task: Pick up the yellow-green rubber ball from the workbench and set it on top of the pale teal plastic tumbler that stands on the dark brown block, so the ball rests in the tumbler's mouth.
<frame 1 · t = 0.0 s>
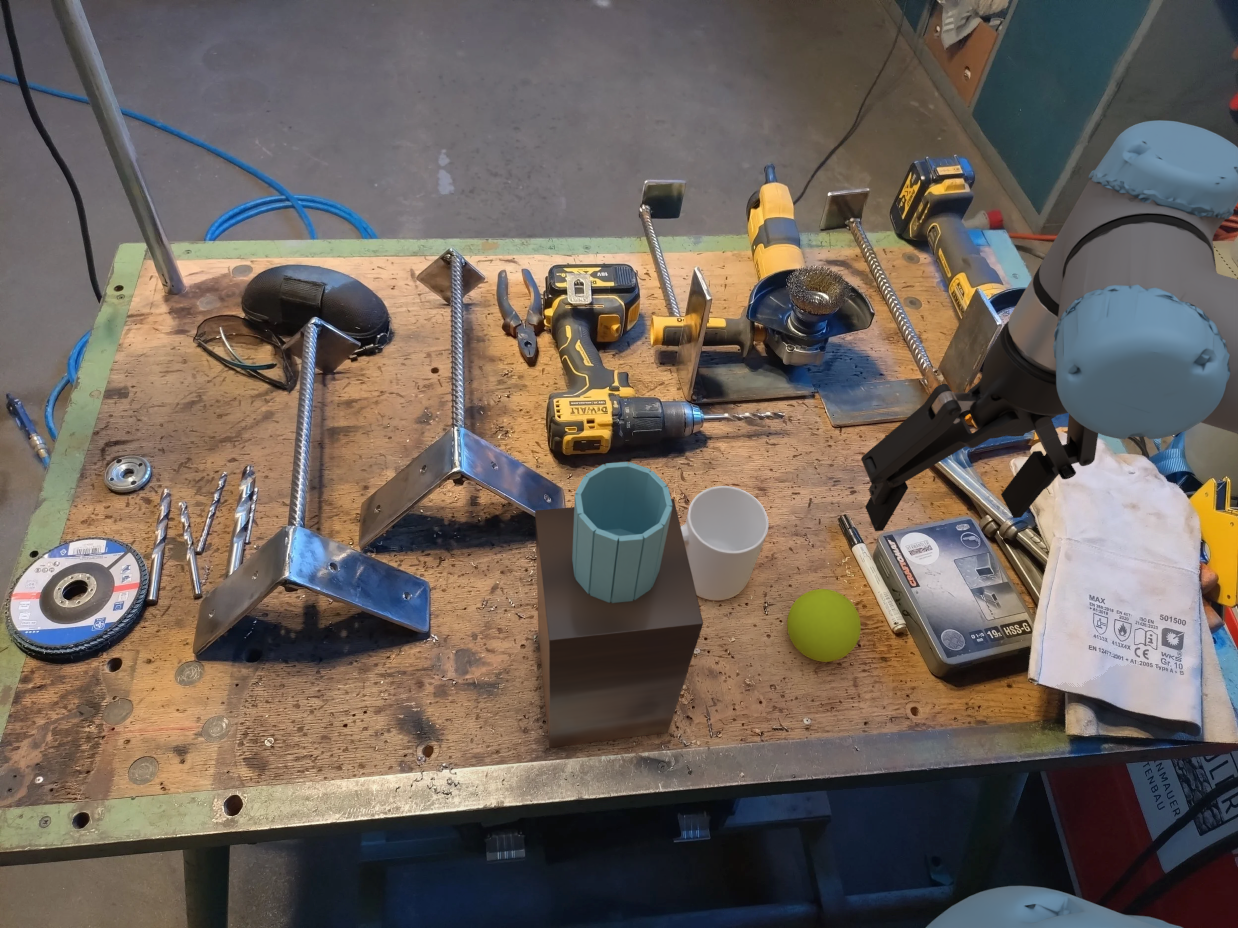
hand: (943, 512, 74), 21 cm above the workbench, tool pointing down, fingers open, 13 cm apart
ball: (814, 640, 88), on the workbench
tumbler: (615, 564, 65), resting on dark brown block
mug: (698, 572, 93), on the workbench
dark brown block: (601, 683, 84), on the workbench
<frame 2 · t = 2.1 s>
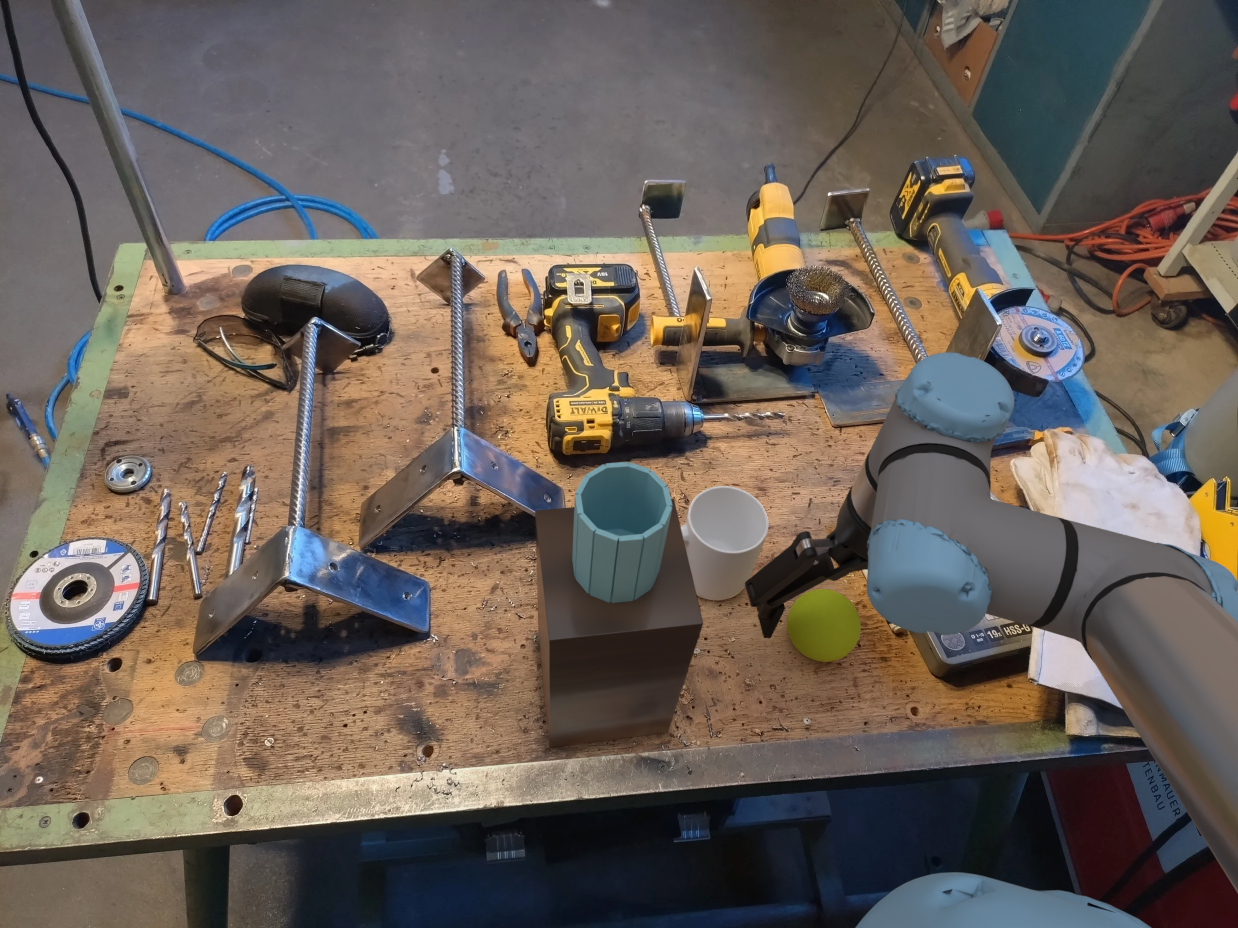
hand: (825, 619, 85), 5 cm above the workbench, tool pointing down, fingers open, 13 cm apart
nothing on the workbench moved.
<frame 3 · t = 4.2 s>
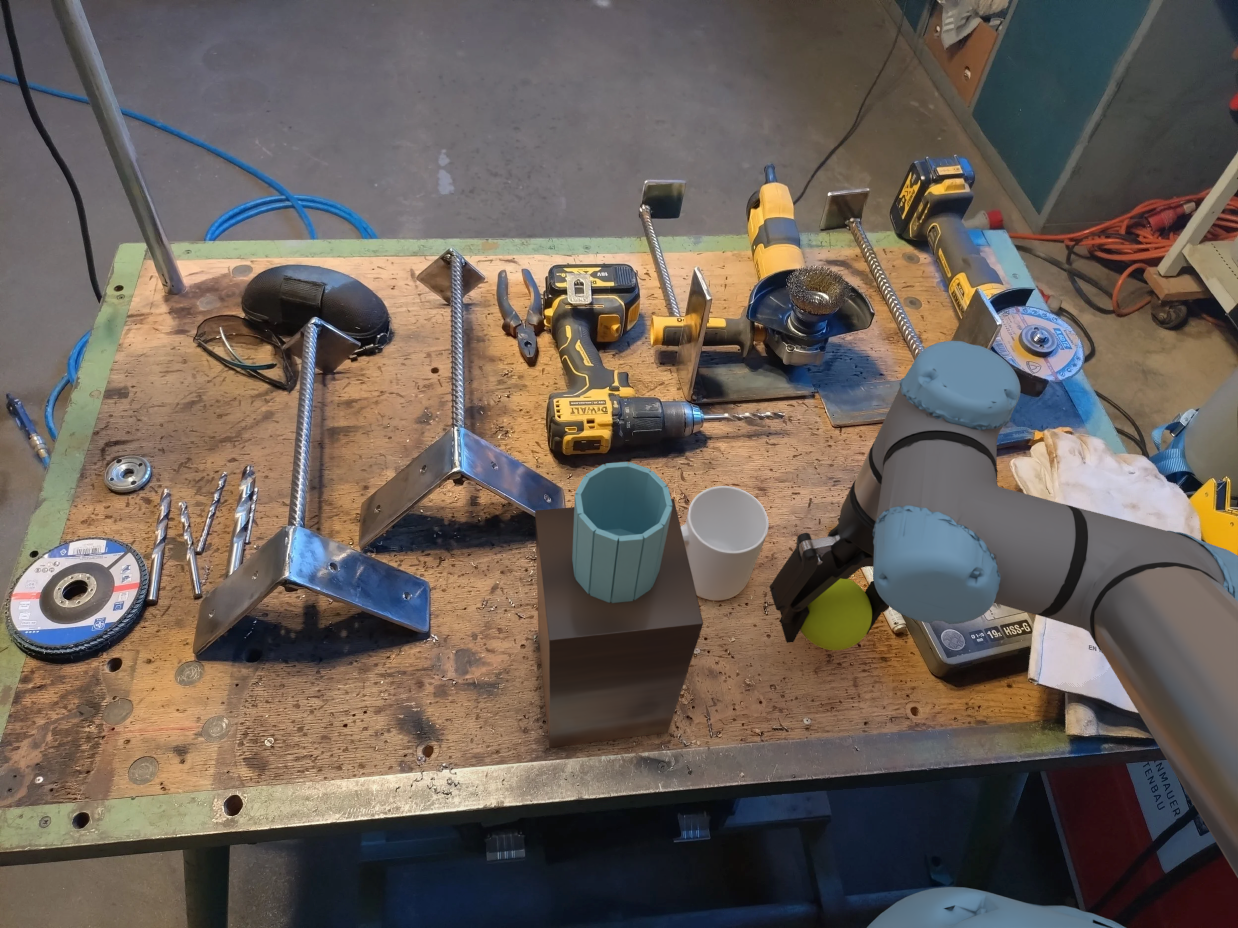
hand: (823, 626, 85), 4 cm above the workbench, tool pointing down, fingers closed on ball, 7 cm apart
ball: (823, 629, 85), point 4 cm above the workbench, touching gripper
everything else where it was.
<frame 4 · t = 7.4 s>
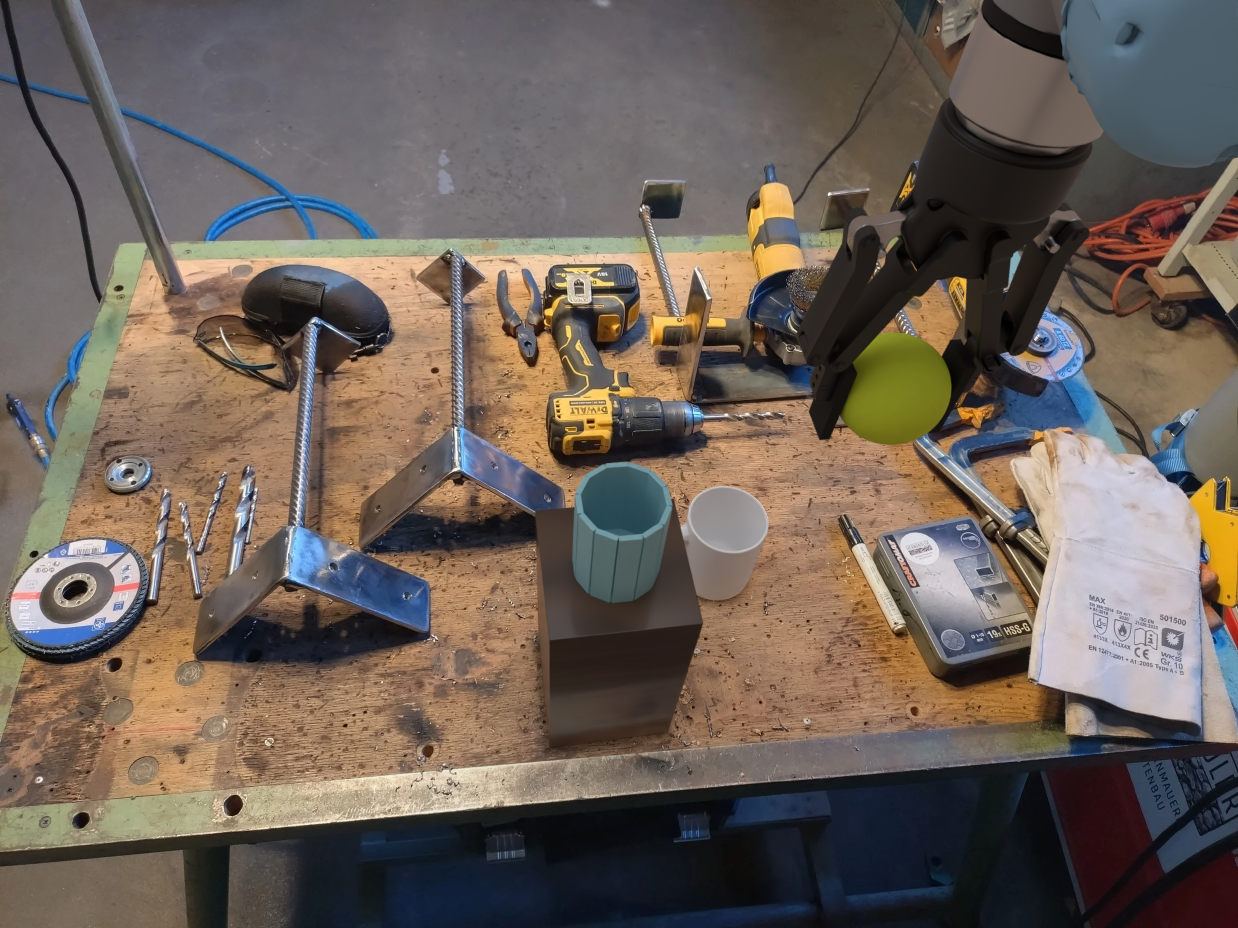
hand: (873, 421, 57), 38 cm above the workbench, tool pointing down, fingers closed on ball, 7 cm apart
ball: (873, 425, 58), point 38 cm above the workbench, touching gripper
everything else where it was.
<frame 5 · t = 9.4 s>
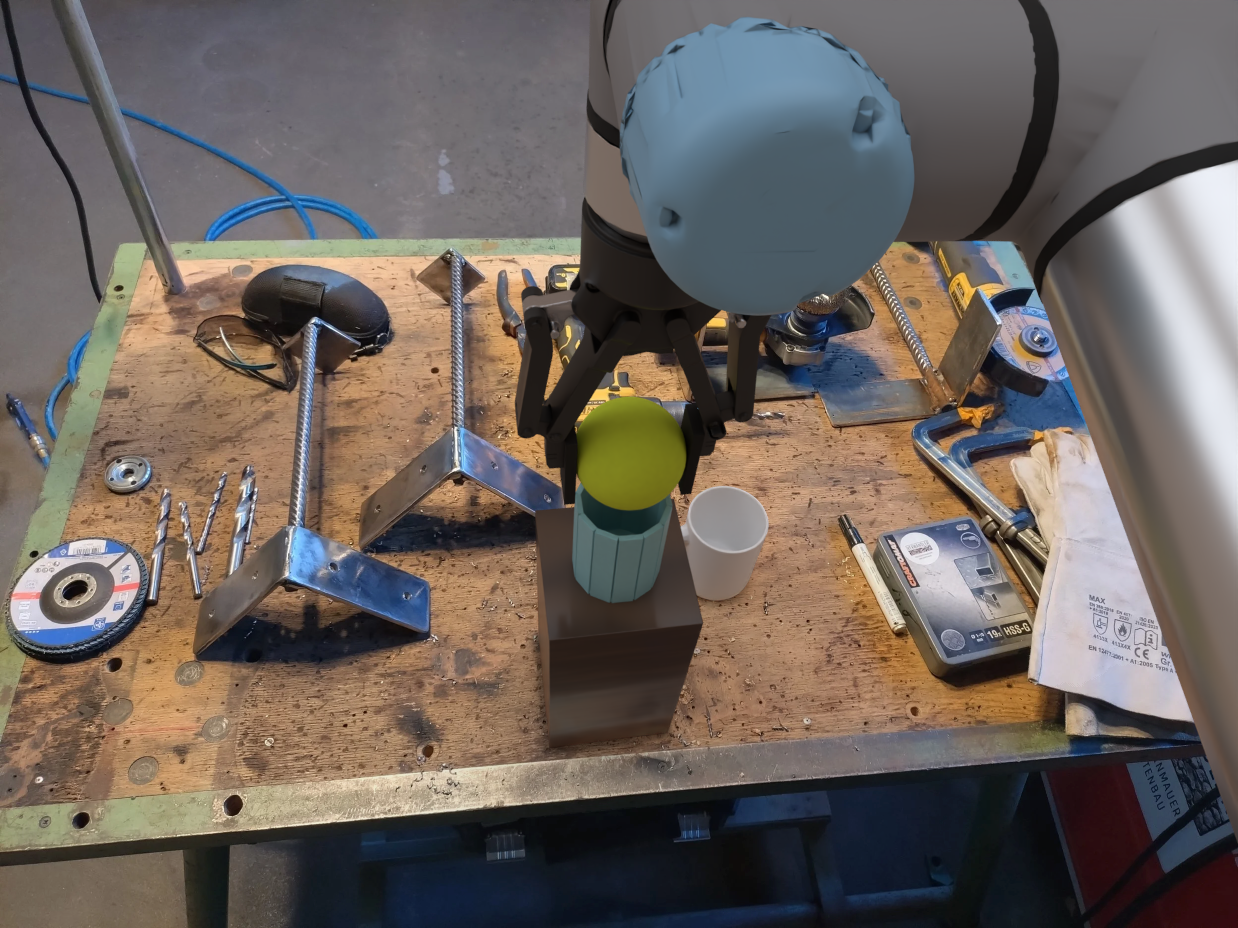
hand: (625, 483, 57), 35 cm above the workbench, tool pointing down, fingers closed on ball, 7 cm apart
ball: (625, 487, 57), point 34 cm above the workbench, touching gripper
everything else where it was.
when the fingers open (32 cm above the workbench, at t = 10.5 s): ball stays where it is, resting on tumbler.
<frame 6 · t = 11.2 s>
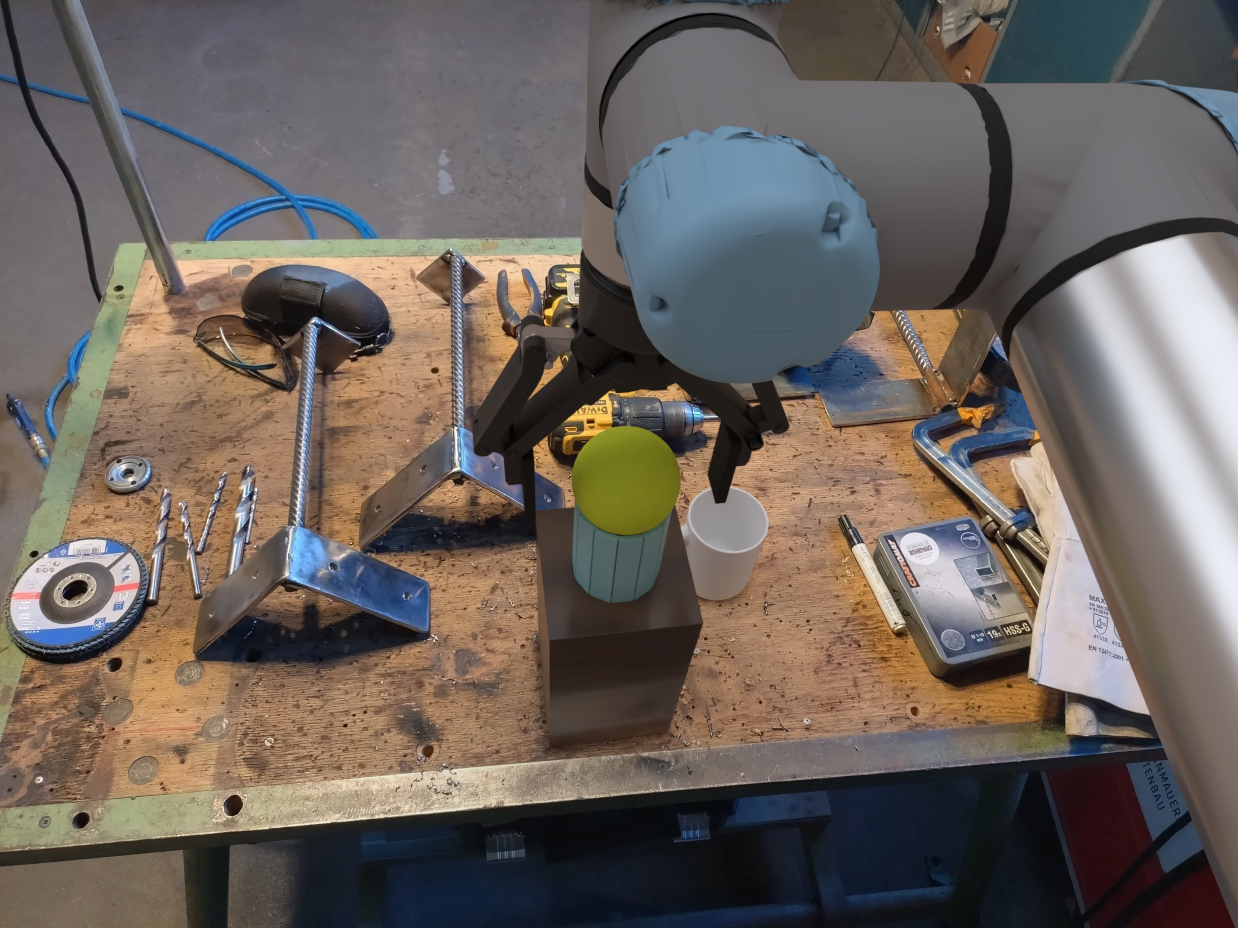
hand: (624, 496, 58), 33 cm above the workbench, tool pointing down, fingers open, 13 cm apart
ball: (622, 511, 59), point 32 cm above the workbench, touching tumbler
everything else where it was.
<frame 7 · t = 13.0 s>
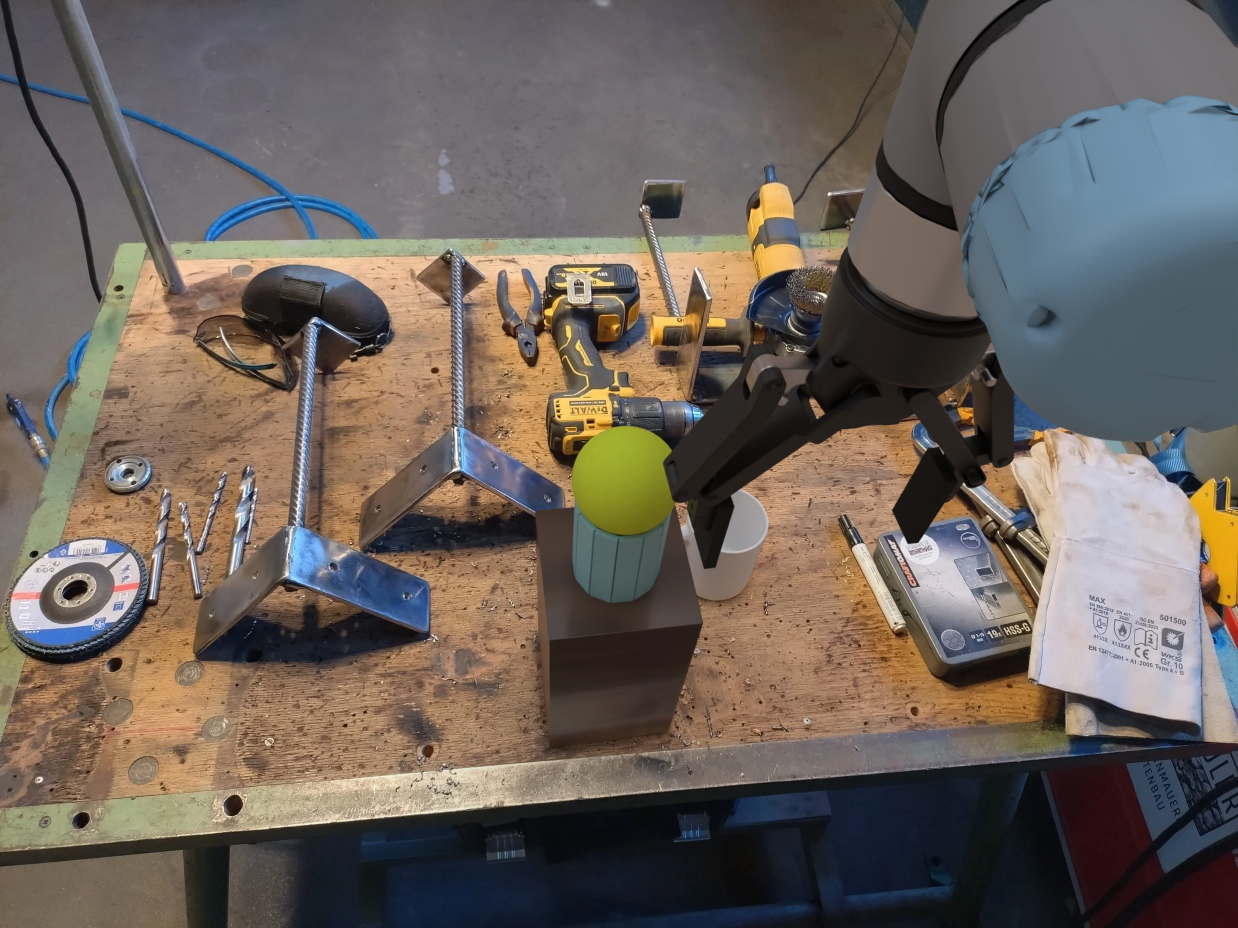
hand: (806, 538, 52), 37 cm above the workbench, tool pointing down, fingers open, 13 cm apart
nothing on the workbench moved.
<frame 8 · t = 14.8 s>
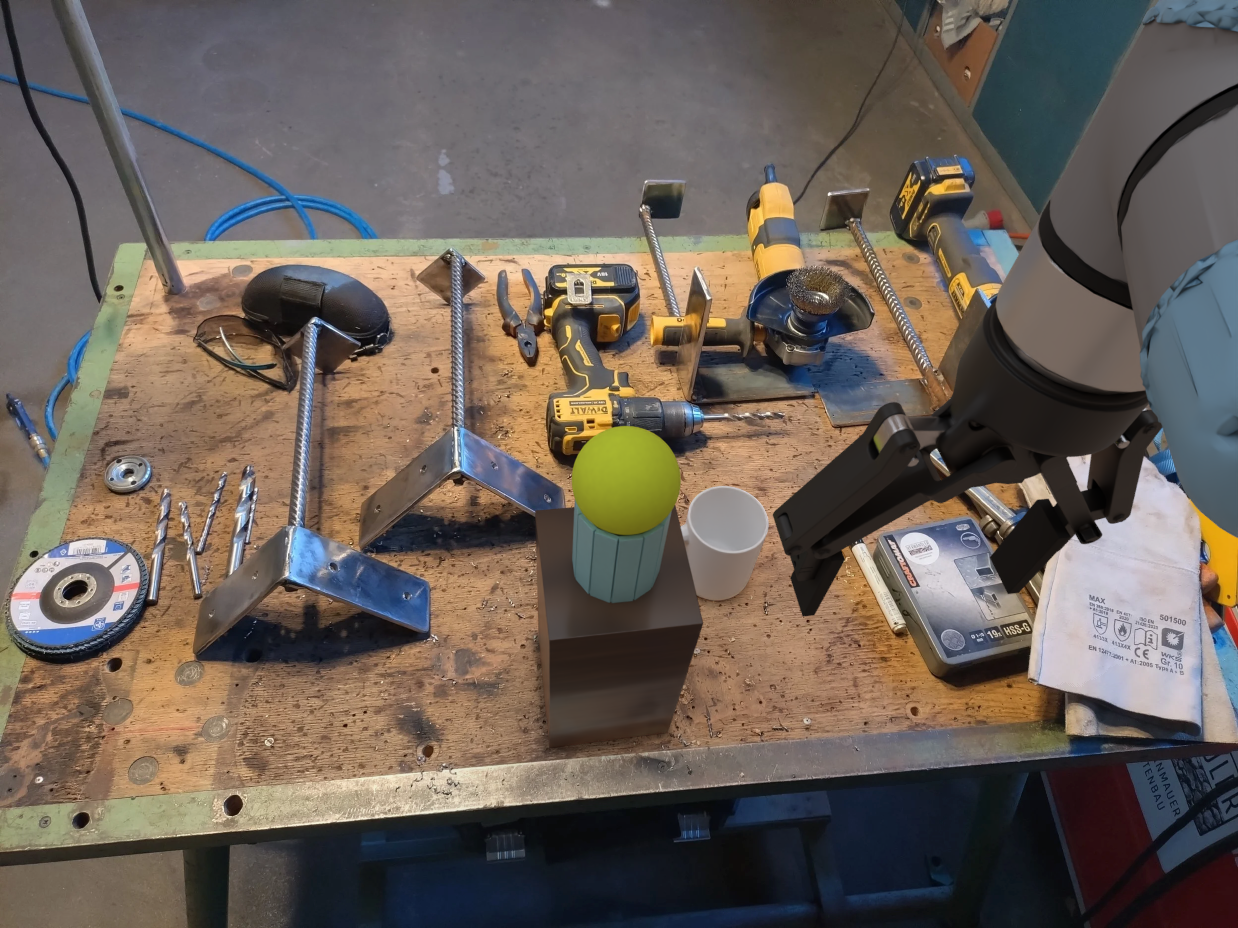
hand: (904, 585, 51), 37 cm above the workbench, tool pointing down, fingers open, 13 cm apart
nothing on the workbench moved.
at the end: ball 0.0 cm off-centre on the tumbler, point 7.5 cm above the tumbler's base; the gripper is holding nothing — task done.
